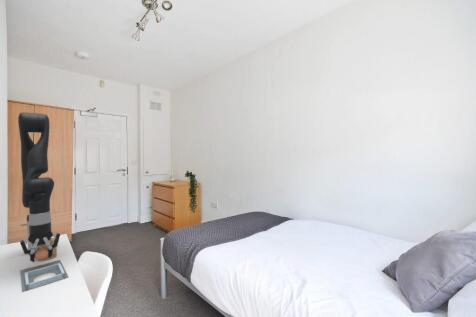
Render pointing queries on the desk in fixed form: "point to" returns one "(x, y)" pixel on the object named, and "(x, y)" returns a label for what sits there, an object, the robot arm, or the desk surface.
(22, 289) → the mat
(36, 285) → the square tray
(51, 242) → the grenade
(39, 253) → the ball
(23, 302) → the desk surface
